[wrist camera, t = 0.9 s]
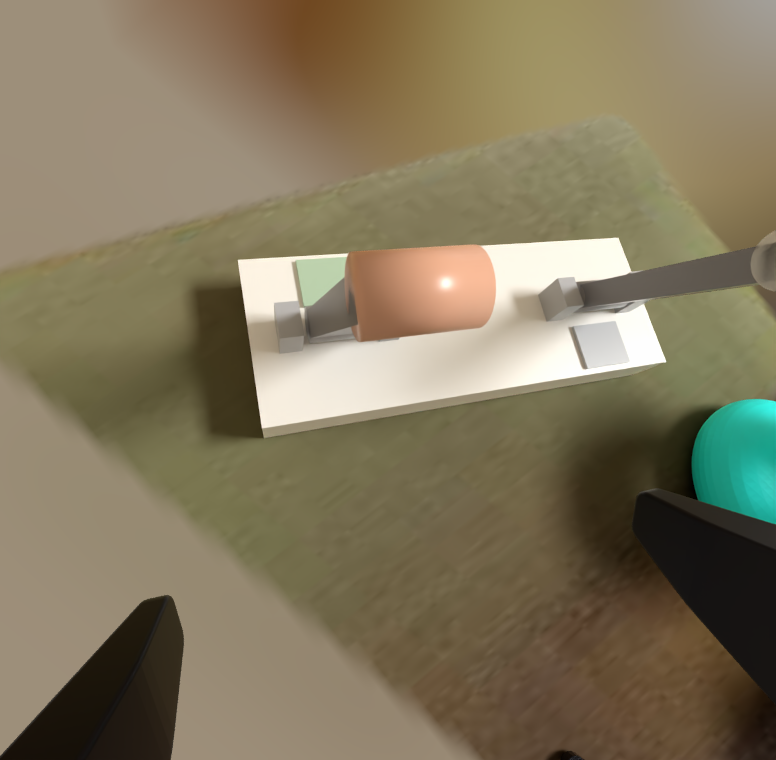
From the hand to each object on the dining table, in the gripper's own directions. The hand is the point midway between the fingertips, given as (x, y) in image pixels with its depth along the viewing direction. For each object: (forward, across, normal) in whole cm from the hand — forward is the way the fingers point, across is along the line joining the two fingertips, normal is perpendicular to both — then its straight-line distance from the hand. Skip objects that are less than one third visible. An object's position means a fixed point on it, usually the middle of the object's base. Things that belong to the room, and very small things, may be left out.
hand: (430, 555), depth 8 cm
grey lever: (+14, -14, -2) cm, 20 cm away
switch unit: (+16, -7, 0) cm, 18 cm away
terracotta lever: (+13, 0, -2) cm, 13 cm away
